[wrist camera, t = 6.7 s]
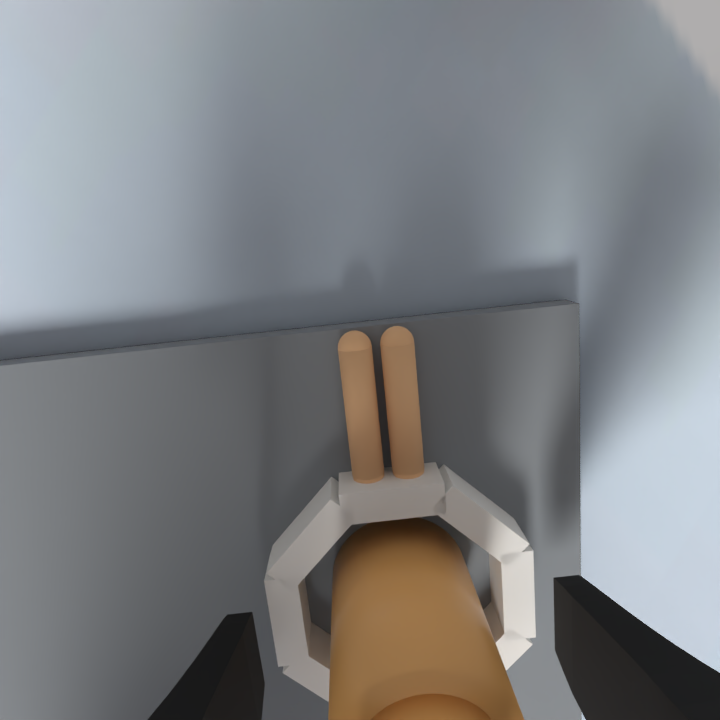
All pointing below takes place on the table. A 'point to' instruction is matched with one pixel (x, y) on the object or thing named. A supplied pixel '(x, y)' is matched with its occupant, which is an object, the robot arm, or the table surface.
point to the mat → (278, 499)
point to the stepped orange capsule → (411, 631)
